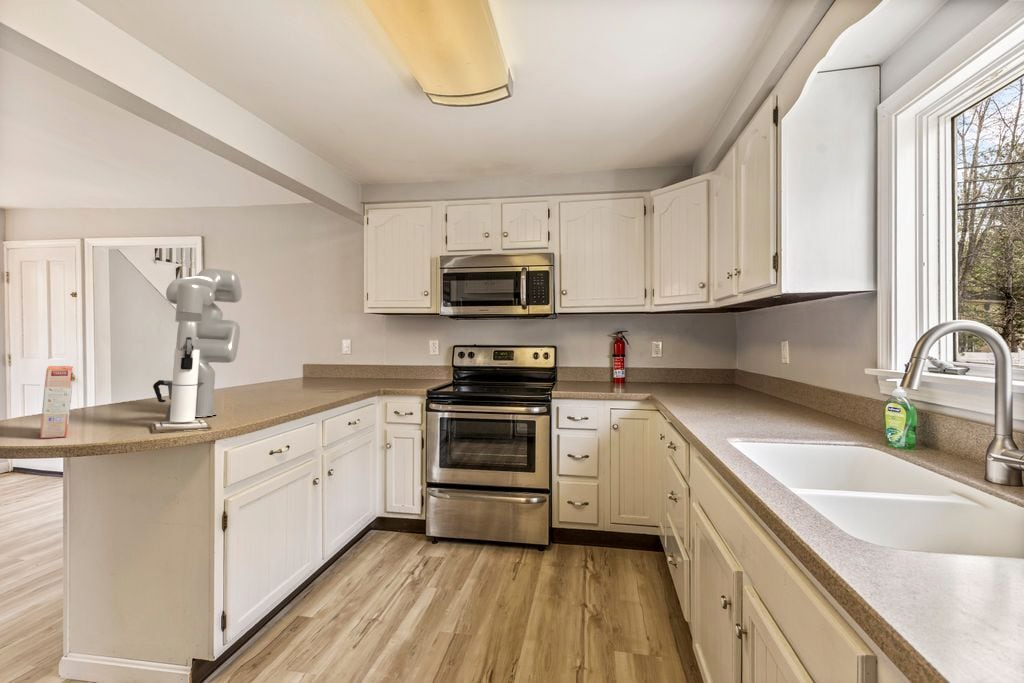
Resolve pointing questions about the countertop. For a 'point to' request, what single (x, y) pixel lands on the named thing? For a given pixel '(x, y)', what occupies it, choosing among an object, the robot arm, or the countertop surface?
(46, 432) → the cracker box
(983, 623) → the countertop surface
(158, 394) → the coffeepot
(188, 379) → the cylindrical container
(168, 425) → the notepad
